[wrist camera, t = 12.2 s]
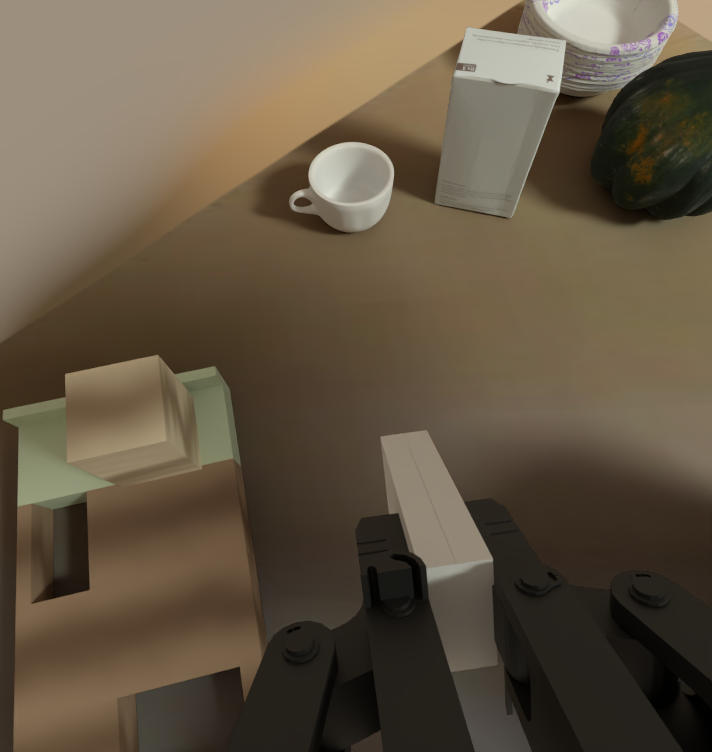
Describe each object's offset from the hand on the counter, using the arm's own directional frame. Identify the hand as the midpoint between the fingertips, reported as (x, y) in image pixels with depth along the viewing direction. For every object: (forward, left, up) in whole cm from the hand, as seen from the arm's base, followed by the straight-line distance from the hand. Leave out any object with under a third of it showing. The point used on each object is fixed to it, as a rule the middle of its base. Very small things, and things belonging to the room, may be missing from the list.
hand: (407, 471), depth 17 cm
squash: (+14, -44, -26) cm, 52 cm away
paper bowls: (+31, -49, -26) cm, 63 cm away
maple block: (+15, +10, -22) cm, 29 cm away
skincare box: (+23, -28, -26) cm, 44 cm away
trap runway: (+4, +17, -25) cm, 31 cm away
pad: (+17, +12, -25) cm, 33 cm away
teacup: (+28, -15, -26) cm, 41 cm away
